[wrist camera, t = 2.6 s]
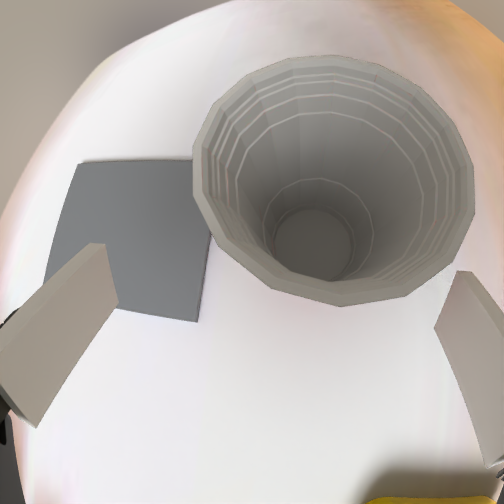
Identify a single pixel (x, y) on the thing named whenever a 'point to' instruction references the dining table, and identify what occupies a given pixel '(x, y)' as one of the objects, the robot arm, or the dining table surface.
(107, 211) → the card
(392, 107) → the plastic cup
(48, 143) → the dining table surface
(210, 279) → the dining table surface
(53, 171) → the dining table surface
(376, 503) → the element tile
